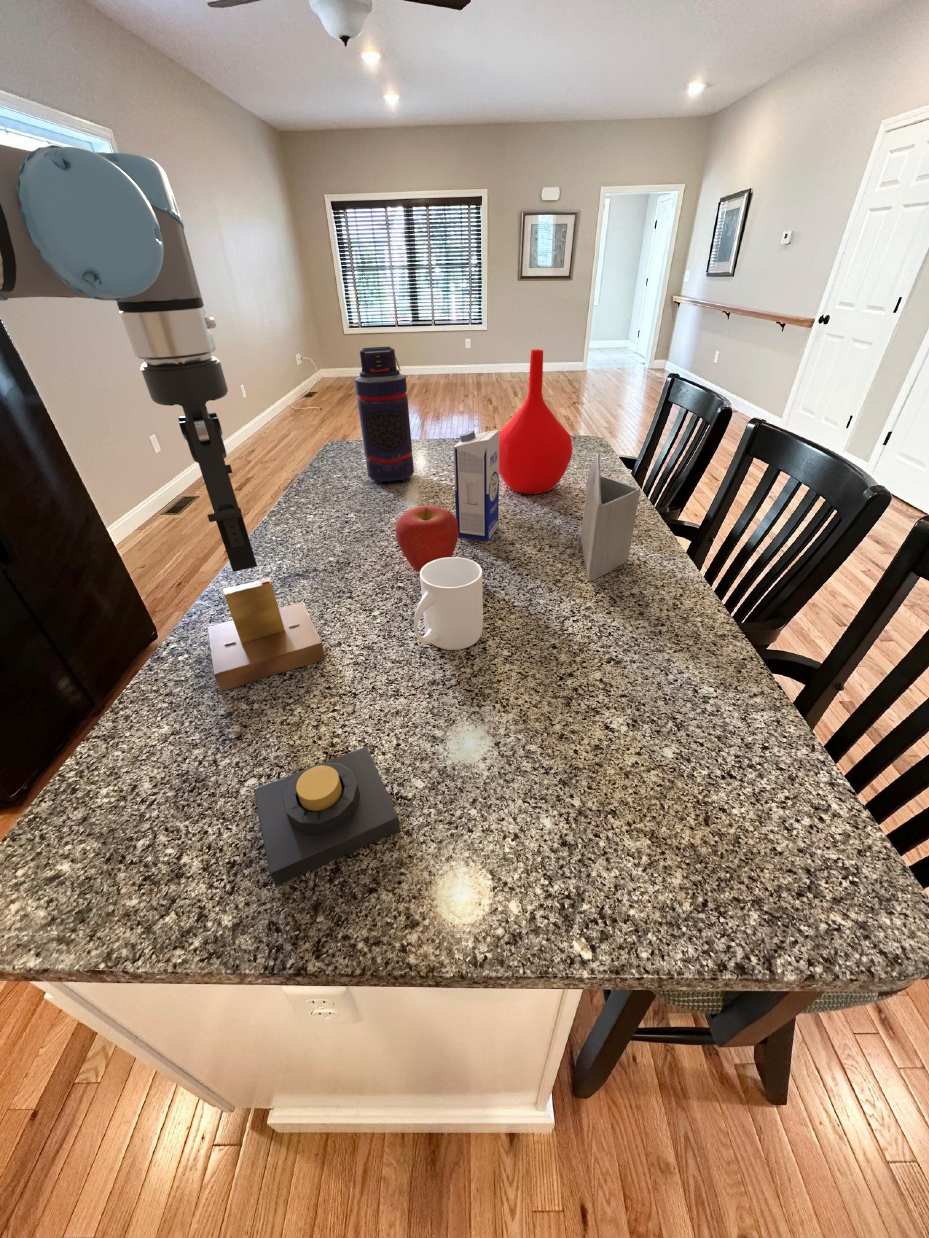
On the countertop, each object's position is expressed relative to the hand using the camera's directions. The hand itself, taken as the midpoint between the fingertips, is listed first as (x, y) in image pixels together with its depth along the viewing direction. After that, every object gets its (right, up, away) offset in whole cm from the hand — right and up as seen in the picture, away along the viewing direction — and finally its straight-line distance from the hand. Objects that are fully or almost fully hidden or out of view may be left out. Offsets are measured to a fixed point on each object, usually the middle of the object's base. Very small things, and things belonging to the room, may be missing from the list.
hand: (238, 545), depth 65 cm
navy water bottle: (+9, +28, +70) cm, 75 cm away
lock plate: (0, -14, +10) cm, 17 cm away
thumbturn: (0, -12, +8) cm, 14 cm away
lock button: (+15, -26, -15) cm, 34 cm away
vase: (+45, +23, +60) cm, 79 cm away
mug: (+26, -13, +11) cm, 31 cm away
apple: (+22, -1, +28) cm, 36 cm away
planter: (+55, +1, +30) cm, 62 cm away
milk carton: (+31, +8, +41) cm, 52 cm away
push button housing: (+15, -29, -13) cm, 35 cm away
